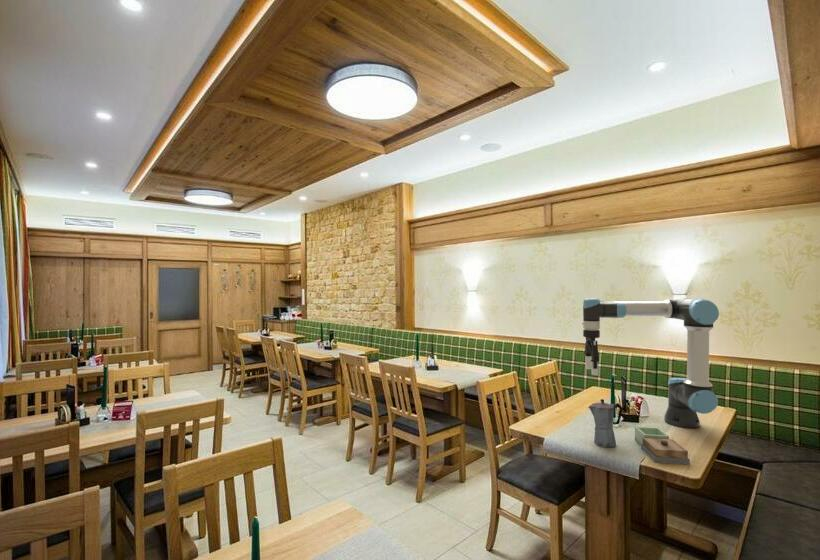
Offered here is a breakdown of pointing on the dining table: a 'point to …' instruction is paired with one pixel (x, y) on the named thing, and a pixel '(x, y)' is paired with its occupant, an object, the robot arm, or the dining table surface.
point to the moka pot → (604, 423)
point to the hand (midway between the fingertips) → (591, 372)
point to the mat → (665, 458)
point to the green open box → (649, 434)
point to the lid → (665, 448)
